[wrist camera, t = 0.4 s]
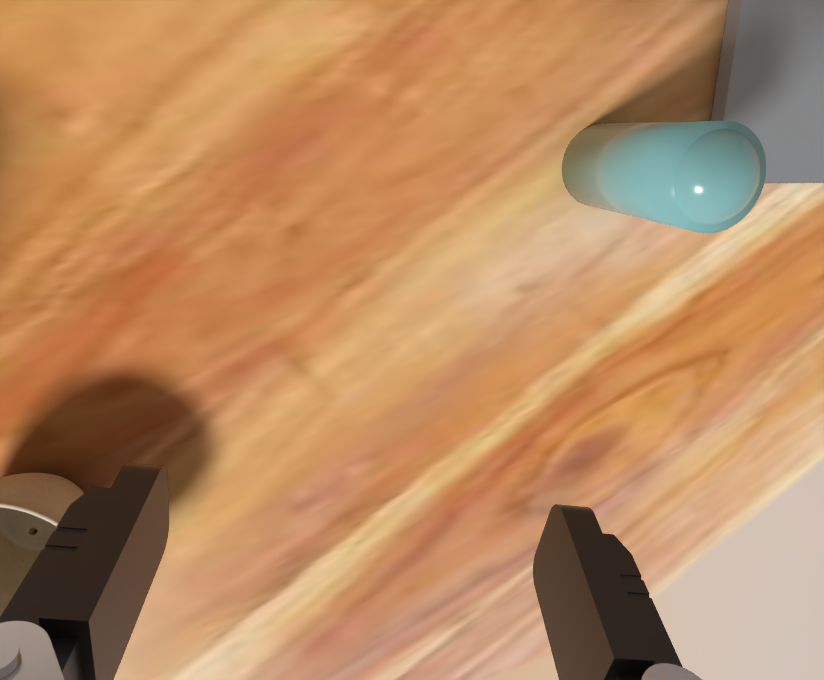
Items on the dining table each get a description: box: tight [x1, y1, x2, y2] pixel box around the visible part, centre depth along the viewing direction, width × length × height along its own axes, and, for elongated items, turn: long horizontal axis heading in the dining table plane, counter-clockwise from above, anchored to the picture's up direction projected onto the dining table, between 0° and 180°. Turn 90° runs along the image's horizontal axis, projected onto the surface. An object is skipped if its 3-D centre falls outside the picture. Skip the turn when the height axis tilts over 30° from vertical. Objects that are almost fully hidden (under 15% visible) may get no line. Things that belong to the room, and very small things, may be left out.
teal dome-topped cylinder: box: [562, 121, 766, 233], centre depth 32 cm, size 5×5×12 cm
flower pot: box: [0, 473, 84, 616], centre depth 34 cm, size 10×10×7 cm
